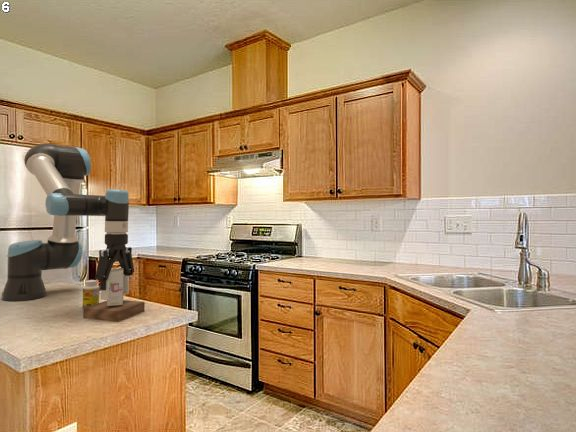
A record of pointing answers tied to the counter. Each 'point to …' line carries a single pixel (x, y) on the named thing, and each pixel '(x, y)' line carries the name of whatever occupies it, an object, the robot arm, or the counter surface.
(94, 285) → the supplement bottle
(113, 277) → the ink box
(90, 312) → the walnut slab
